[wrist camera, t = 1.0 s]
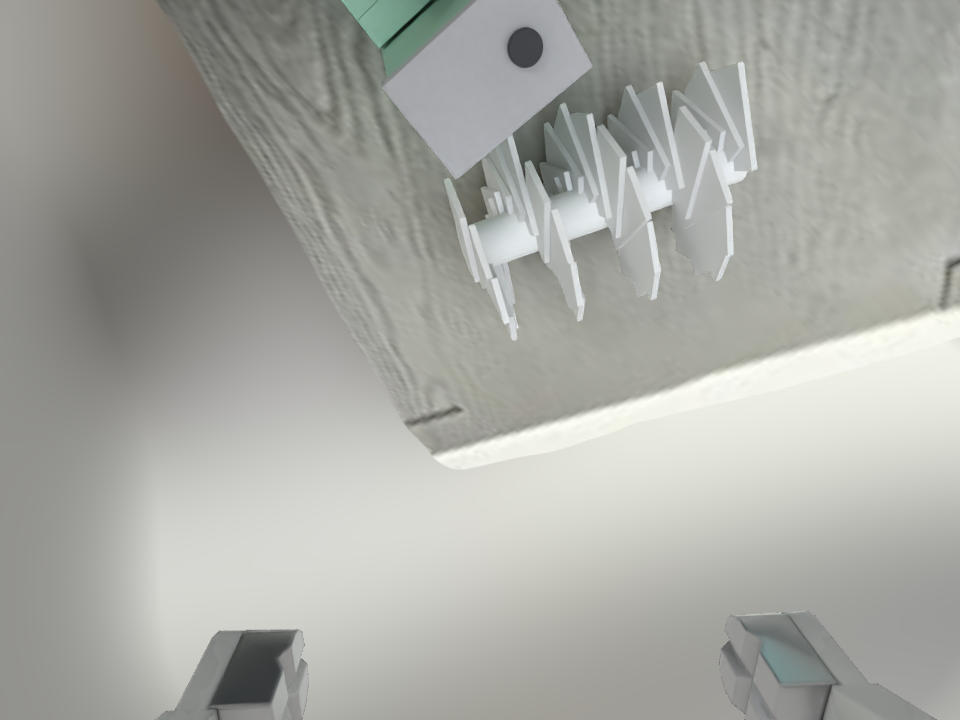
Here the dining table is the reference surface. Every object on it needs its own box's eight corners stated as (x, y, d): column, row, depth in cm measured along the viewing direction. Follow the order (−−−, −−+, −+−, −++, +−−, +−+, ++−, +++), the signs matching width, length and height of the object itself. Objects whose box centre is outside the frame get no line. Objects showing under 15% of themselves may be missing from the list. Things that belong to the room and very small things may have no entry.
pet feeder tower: (375, 46, 46) (381, 90, 32) (476, -50, 43) (533, -50, 29) (430, 116, 50) (457, 183, 36) (525, 32, 47) (597, 68, 33)
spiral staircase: (669, 167, 61) (453, 242, 60) (707, 4, 45) (414, 104, 44) (759, 299, 52) (508, 388, 52) (843, 156, 37) (484, 280, 36)
